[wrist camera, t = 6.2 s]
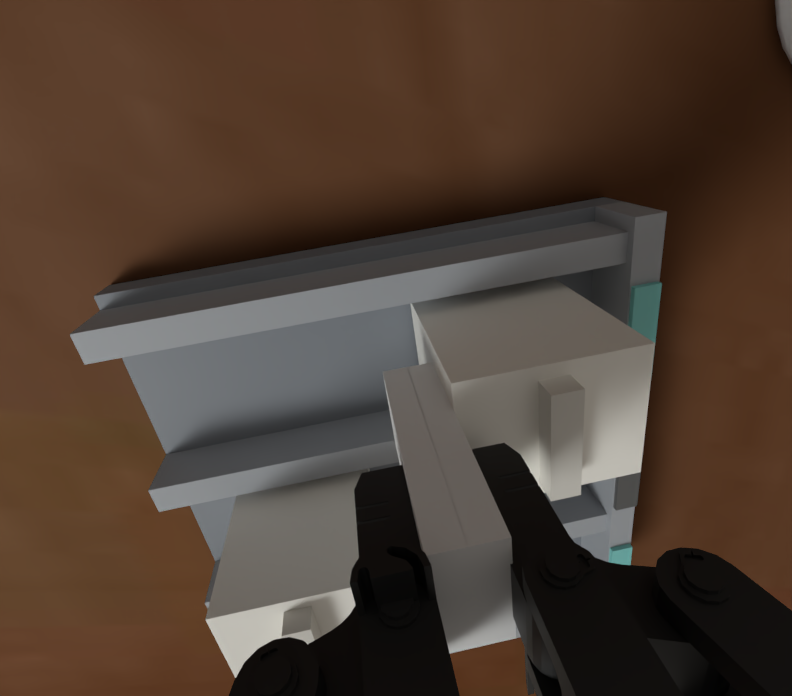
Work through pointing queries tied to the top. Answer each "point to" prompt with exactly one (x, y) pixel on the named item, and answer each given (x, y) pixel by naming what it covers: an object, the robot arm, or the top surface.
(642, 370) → the white rectangular block
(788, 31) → the milk bottle
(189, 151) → the top surface
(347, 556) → the white ridged block
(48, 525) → the top surface
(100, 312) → the switch board
